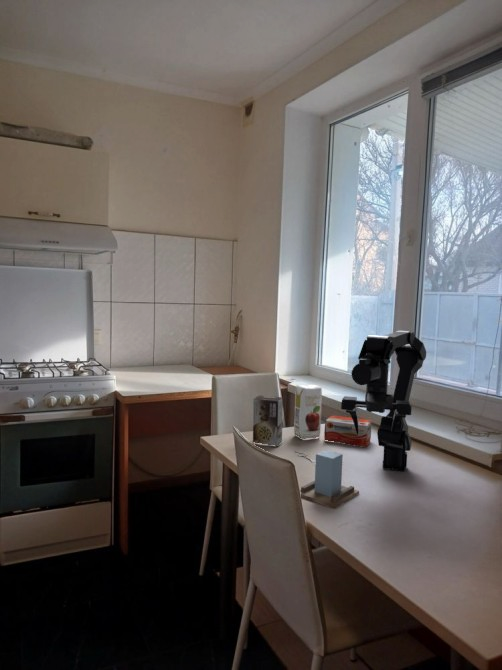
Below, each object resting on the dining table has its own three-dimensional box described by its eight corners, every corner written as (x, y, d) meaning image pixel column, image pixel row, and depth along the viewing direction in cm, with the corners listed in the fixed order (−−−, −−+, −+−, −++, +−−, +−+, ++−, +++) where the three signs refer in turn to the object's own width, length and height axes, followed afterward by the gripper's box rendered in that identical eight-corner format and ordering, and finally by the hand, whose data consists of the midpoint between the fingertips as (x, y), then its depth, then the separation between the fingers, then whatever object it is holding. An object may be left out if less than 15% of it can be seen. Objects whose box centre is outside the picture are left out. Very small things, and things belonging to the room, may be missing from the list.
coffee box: (282, 442, 176) (284, 397, 175) (277, 447, 170) (278, 400, 169) (257, 439, 179) (259, 394, 178) (251, 444, 173) (253, 398, 172)
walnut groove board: (295, 495, 131) (295, 487, 131) (321, 482, 140) (321, 475, 140) (334, 508, 123) (335, 500, 123) (358, 493, 133) (359, 486, 133)
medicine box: (323, 441, 179) (324, 419, 178) (329, 436, 187) (330, 414, 186) (366, 448, 173) (367, 425, 173) (370, 441, 181) (372, 420, 180)
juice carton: (291, 435, 185) (293, 384, 183) (311, 433, 188) (313, 383, 187) (301, 441, 178) (303, 388, 176) (322, 439, 181) (324, 387, 180)
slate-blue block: (314, 491, 131) (315, 454, 130) (324, 486, 135) (326, 449, 134) (331, 497, 128) (332, 458, 127) (341, 491, 132) (342, 454, 131)
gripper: (340, 383, 135) (338, 440, 136) (413, 388, 130) (410, 447, 131) (344, 376, 145) (341, 429, 147) (411, 381, 141) (408, 436, 142)
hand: (374, 435), depth 141 cm, fingers open, 9 cm apart
